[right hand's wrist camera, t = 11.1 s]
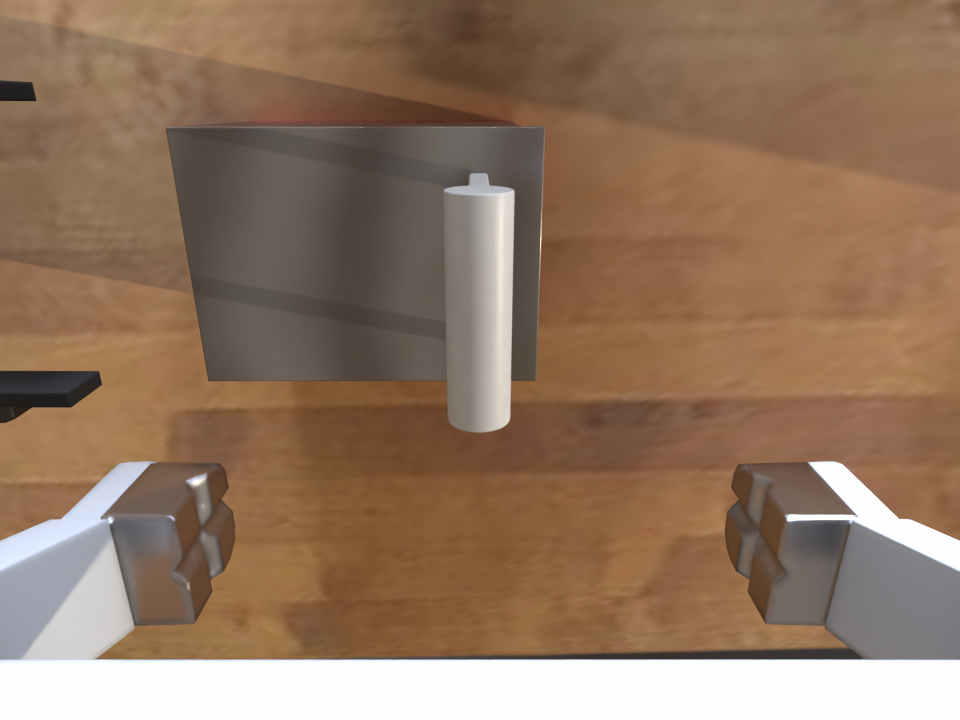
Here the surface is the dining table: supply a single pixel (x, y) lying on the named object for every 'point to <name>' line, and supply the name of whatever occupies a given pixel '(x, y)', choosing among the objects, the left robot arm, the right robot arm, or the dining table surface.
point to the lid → (367, 255)
